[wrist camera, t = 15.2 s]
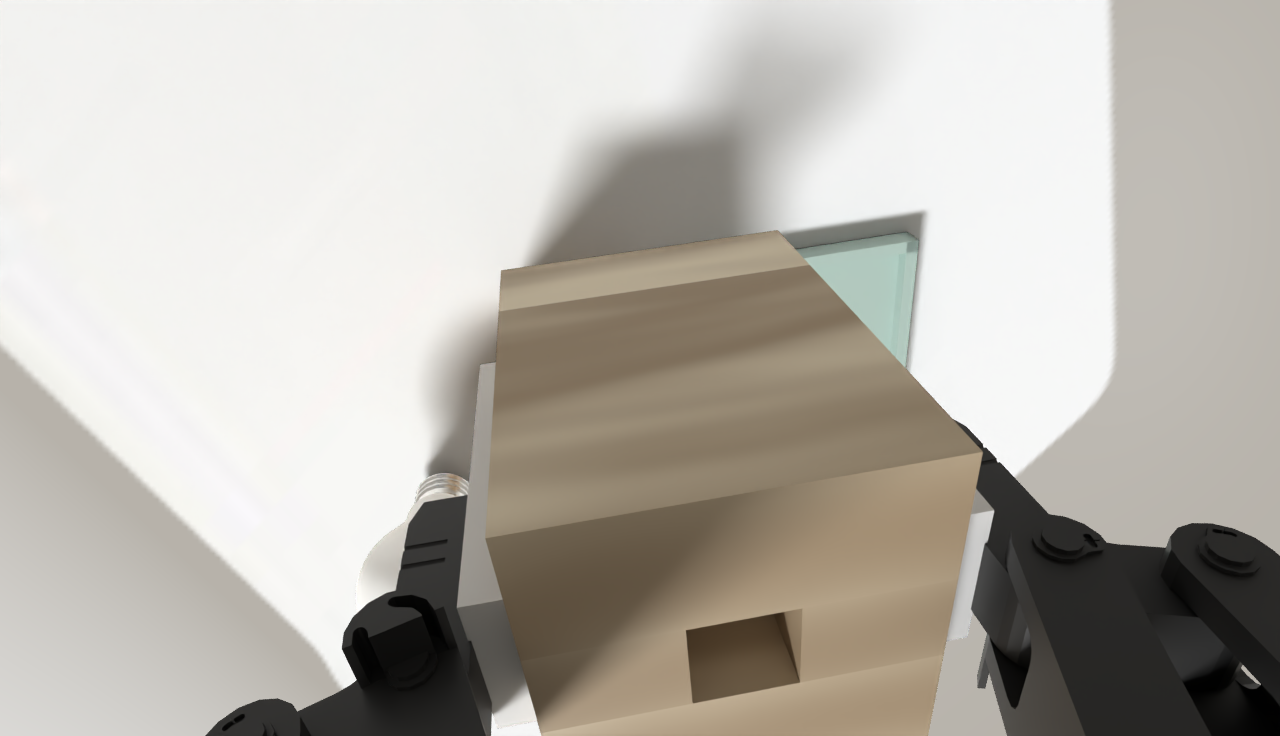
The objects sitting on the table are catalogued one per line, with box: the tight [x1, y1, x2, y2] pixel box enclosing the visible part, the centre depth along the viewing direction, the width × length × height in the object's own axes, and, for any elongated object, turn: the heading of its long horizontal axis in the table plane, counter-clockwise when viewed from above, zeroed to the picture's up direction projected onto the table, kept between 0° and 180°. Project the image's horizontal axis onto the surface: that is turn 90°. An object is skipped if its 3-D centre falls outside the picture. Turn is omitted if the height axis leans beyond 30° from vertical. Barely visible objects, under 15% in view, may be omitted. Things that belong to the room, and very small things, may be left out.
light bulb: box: [355, 473, 469, 613], centre depth 35 cm, size 7×7×11 cm
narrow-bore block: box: [485, 230, 983, 736], centre depth 13 cm, size 6×6×8 cm
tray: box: [796, 232, 919, 368], centre depth 38 cm, size 12×12×1 cm
